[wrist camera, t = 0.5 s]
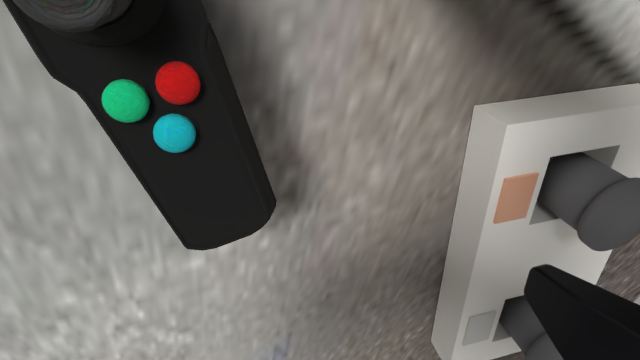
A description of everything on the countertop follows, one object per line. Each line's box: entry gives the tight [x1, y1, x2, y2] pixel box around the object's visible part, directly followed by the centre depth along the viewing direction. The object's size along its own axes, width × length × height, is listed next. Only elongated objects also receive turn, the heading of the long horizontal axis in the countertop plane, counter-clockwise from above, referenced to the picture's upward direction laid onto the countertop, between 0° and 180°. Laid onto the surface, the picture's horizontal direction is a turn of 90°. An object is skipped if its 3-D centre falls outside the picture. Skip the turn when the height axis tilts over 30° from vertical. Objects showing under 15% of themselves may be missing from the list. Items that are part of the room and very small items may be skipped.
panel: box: [431, 83, 640, 360], centre depth 29 cm, size 22×12×3 cm, turn 1°
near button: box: [537, 152, 640, 251], centre depth 24 cm, size 5×5×4 cm
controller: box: [3, 0, 276, 250], centre depth 13 cm, size 4×12×10 cm, turn 15°
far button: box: [499, 295, 563, 360], centre depth 30 cm, size 5×5×4 cm
